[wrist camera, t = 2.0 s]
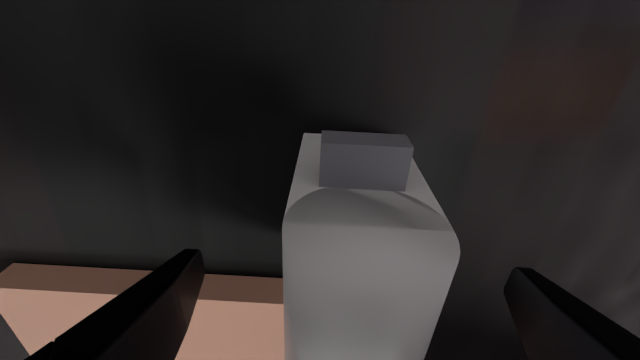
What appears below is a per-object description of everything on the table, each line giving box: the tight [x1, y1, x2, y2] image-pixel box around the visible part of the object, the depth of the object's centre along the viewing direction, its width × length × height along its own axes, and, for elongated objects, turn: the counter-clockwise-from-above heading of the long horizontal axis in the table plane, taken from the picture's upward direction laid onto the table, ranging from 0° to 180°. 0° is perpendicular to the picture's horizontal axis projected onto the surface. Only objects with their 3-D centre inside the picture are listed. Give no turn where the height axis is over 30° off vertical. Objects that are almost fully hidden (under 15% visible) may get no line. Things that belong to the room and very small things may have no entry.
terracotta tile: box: [0, 263, 285, 360], centre depth 16 cm, size 16×10×2 cm, turn 88°
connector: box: [282, 130, 460, 360], centre depth 9 cm, size 4×6×7 cm, turn 178°
